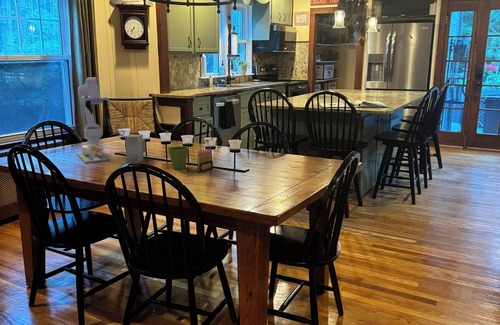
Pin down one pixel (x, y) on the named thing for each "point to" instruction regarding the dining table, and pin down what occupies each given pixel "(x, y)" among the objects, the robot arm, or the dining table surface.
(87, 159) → the rail board
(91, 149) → the module
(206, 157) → the ammunition clip
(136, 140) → the circuit breaker
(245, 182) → the dining table surface
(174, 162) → the plant pot
